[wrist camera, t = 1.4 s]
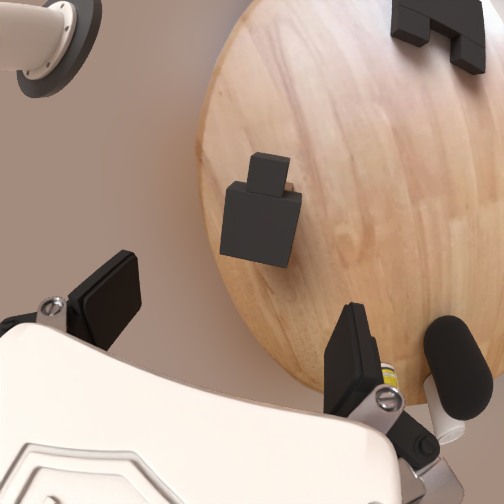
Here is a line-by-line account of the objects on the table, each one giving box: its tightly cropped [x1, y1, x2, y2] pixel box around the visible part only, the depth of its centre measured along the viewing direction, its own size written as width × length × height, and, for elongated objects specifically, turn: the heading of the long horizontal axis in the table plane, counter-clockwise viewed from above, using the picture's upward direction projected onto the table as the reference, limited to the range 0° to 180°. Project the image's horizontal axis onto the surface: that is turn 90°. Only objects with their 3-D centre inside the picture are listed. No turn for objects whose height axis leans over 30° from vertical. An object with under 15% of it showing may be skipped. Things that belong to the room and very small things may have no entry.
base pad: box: [390, 0, 486, 75], centre depth 13 cm, size 10×10×2 cm
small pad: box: [220, 152, 302, 268], centre depth 19 cm, size 7×5×2 cm
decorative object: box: [424, 316, 493, 421], centre depth 22 cm, size 7×7×15 cm
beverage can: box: [423, 374, 465, 445], centre depth 28 cm, size 5×5×12 cm
